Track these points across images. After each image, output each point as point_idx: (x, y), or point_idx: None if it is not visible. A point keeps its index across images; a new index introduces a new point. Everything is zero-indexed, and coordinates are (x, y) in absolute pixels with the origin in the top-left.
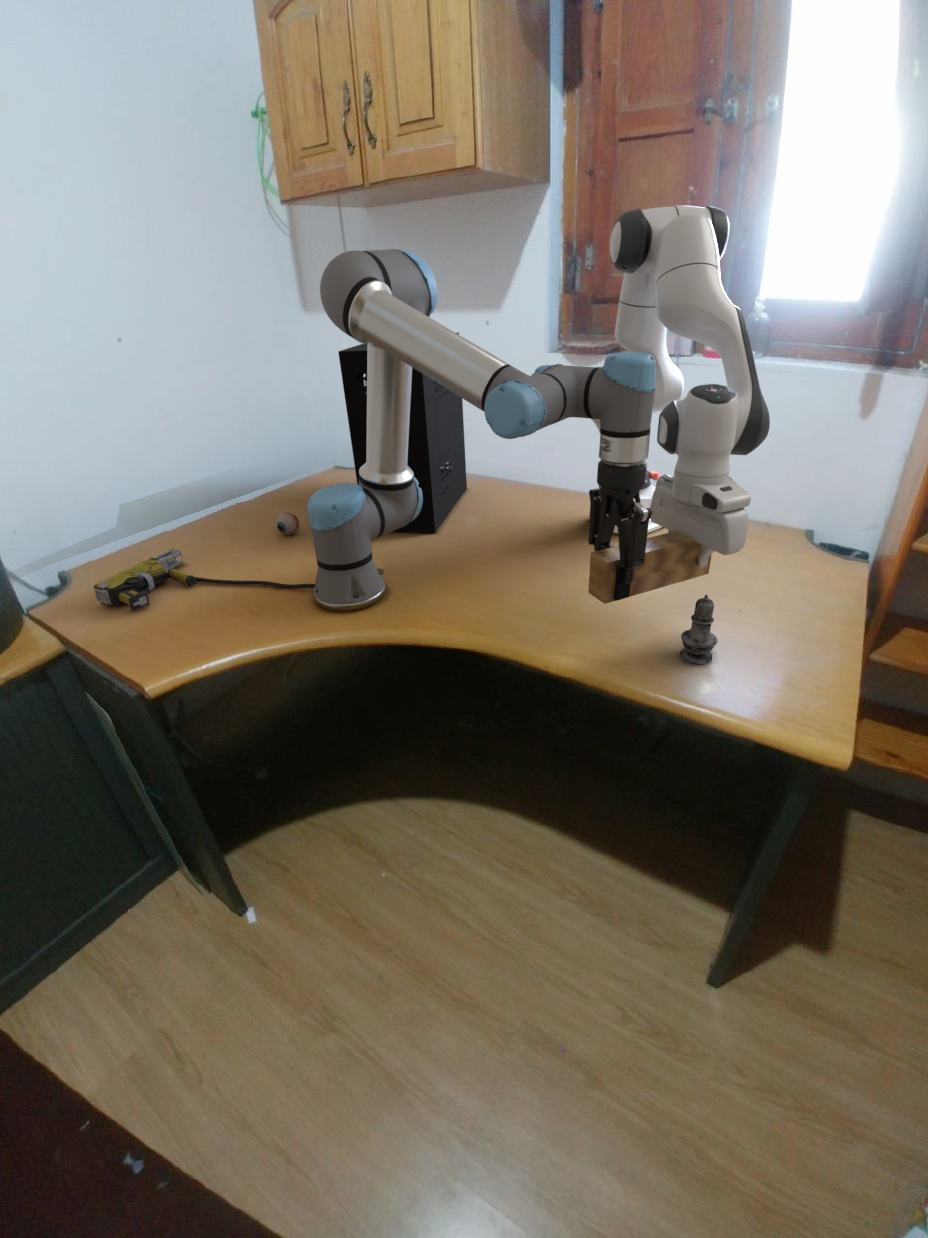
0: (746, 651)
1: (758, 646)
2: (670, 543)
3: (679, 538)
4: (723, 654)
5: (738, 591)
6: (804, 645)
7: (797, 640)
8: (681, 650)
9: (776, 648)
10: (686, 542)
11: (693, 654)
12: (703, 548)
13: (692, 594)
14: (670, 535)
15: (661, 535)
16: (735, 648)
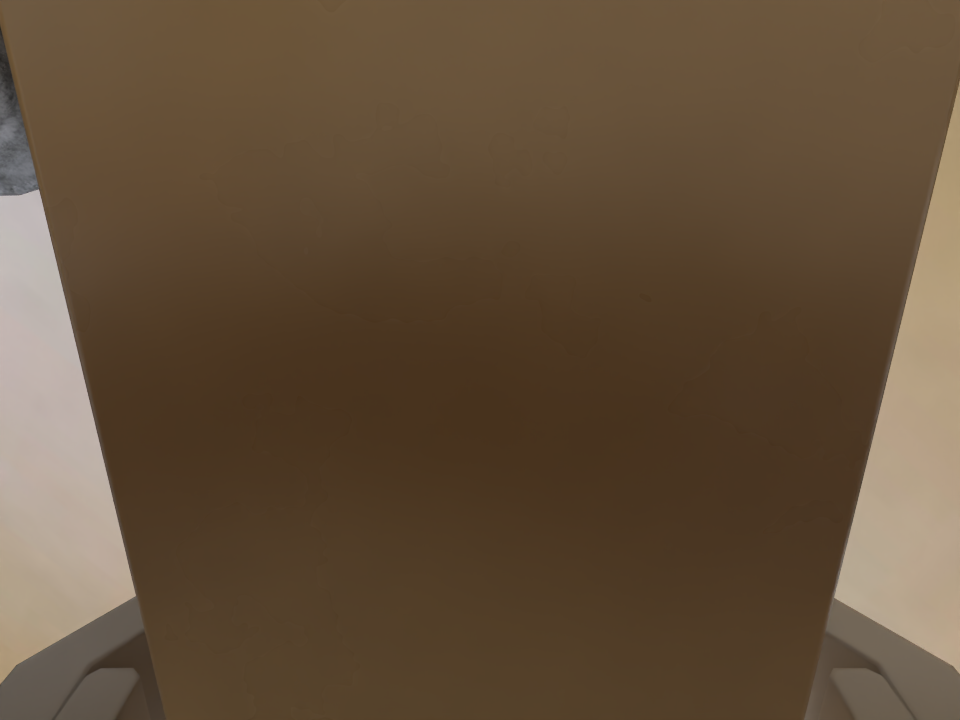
0: (34, 353)
1: (59, 432)
2: (194, 152)
3: (395, 584)
4: (40, 232)
5: None
6: (9, 592)
7: (55, 599)
8: None
9: (19, 485)
10: (137, 570)
11: None
12: (63, 701)
13: None
14: (669, 535)
15: (833, 344)
16: None
